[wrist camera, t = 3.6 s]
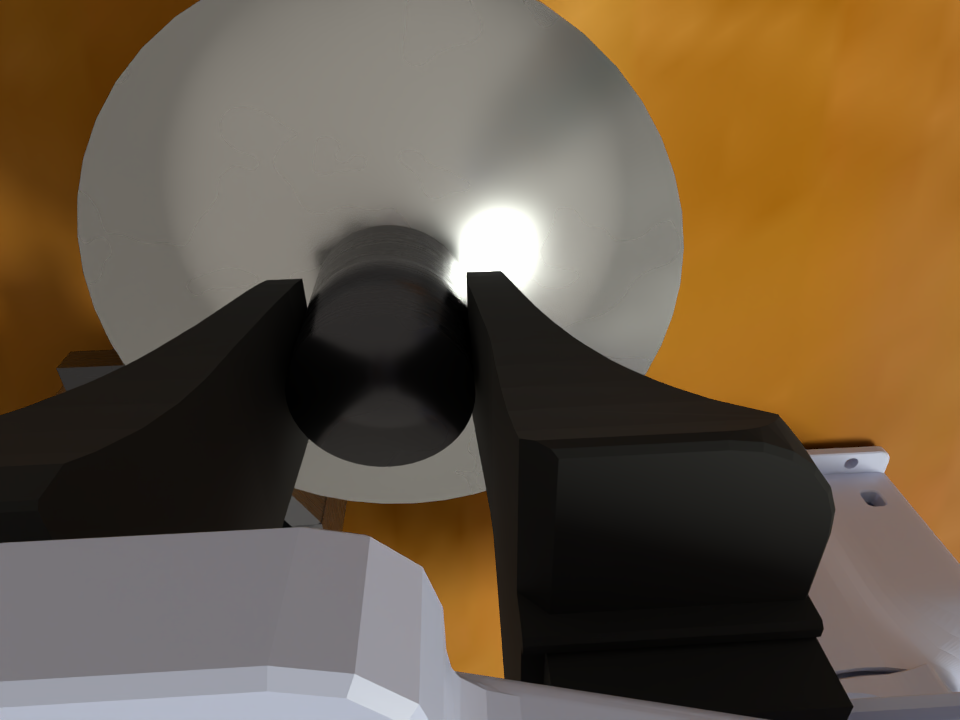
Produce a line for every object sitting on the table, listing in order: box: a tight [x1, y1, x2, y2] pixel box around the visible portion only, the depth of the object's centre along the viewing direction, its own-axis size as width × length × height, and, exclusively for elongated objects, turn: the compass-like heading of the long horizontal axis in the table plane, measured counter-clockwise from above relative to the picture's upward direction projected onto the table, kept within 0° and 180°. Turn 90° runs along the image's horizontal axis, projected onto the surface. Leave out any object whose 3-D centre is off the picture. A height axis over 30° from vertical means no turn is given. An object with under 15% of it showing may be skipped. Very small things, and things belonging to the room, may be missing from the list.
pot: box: [55, 349, 347, 532], centre depth 22 cm, size 10×13×5 cm
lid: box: [77, 0, 684, 504], centre depth 12 cm, size 11×11×4 cm
